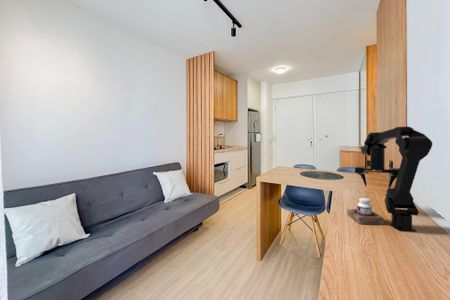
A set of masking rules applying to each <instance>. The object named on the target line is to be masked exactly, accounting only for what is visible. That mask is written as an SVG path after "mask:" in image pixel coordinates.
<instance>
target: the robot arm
mask: <svg viewBox="0 0 450 300" xmlns="http://www.w3.org/2000/svg"><path fill="white" fill-rule="evenodd" d="M393 139H395V144H396V145H397V146H398V152H399V154H400V155H401V157H402V158H401V162H400V165H399V167H390V168H389V169H387V168H386V167H385V163H386V160H385V155H386V154H385V152H386V151H385V149H387V146H386V145H385V144H386V143H388V142H389V141H390V140H393ZM363 143H364V145H363V146H362V147H361V150H360V151H361V153H362V155H364V156H368V157H369V158H370V159H368V160H366V167H367V168H365V166H355V168H354V173H355V174H357V175H358V176H360V177H361V179H362V181H363V184H364V186H365V187H367V179H366V173H378V174H379V173H382V174H389V179H388V188H387V189H386V193H385V195H384V196H385V198H384V205H385V209H386V211H387V213H388V214H391V222H388V223H387V224H388V226H391V227H393V228H394V229H396V230H397V231H399V232H402V231H403V232H405V231H406V232H417V229H416V228H415V227H413V216H415V217H417V216H418V215H419V213H420V212H419V210H418V207H417V206H416V204H415V202H414V197H413V195H412V193H411V190H412V187H413V183H414V181H415V177H416V174H417V172H418V168H419V165H420V162H421V160H423V159H425V157H426V156H428V155H429V153H430V151H431V150H432V147H433V141H432V140H431V139H430V138H429V137H428V136H427V135H426V134H424V133H423V132H420V131H417V130H415V129H414V128H413V127H411V126H397V127H394V128H391V129H388V130H385V131H379V132H378V131H377V132H376V131H375V132H369V133H368V135H367V136H366V139H365V140H364V142H363ZM368 167H369V168H368ZM385 168H386V169H385ZM395 180H396V181H395ZM394 181H395V182H394ZM393 183H394V187H392V185H393ZM391 187H392V188H391Z"/></svg>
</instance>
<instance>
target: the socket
mask: <svg viewBox="0 0 450 300" xmlns="http://www.w3.org/2000/svg"><path fill="white" fill-rule="evenodd" d="M346 214H347V216H348V217H349V218H350V219H352V220H353V221H354V222H355V223H357V224H358V225H385V223H384V219H385V218H384V217H383V216H382V215H380V214H378V213H376V212H375V211H373V210H372V216H360V215H359V214H358V209H355V208H353V209H350V208H347V213H346Z"/></svg>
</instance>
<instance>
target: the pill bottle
mask: <svg viewBox="0 0 450 300" xmlns="http://www.w3.org/2000/svg"><path fill="white" fill-rule="evenodd" d="M358 201H359V202H358V203H357V207H356V208H357V209H358V214H359V215H360V216H372V211H373V206H372V204H370V203H371V201H370V198H366V197H360V198H359V199H358Z"/></svg>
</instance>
